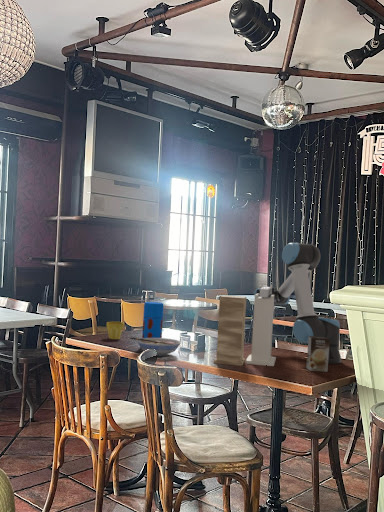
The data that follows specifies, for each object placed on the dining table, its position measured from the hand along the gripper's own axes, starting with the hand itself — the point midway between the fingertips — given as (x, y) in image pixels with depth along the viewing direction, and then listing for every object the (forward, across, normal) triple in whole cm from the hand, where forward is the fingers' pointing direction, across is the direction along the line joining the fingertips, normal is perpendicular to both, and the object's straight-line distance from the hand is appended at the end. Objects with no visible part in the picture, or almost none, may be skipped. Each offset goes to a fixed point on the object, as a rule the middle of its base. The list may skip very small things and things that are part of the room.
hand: (266, 286), depth 300 cm
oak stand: (-3, +15, -43) cm, 45 cm away
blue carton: (-24, +62, -32) cm, 74 cm away
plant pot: (-41, +91, -22) cm, 102 cm away
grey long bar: (+2, 0, -7) cm, 7 cm away
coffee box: (-4, -28, -42) cm, 51 cm away
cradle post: (-12, 0, -38) cm, 40 cm away
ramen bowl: (-5, +53, -42) cm, 68 cm away
